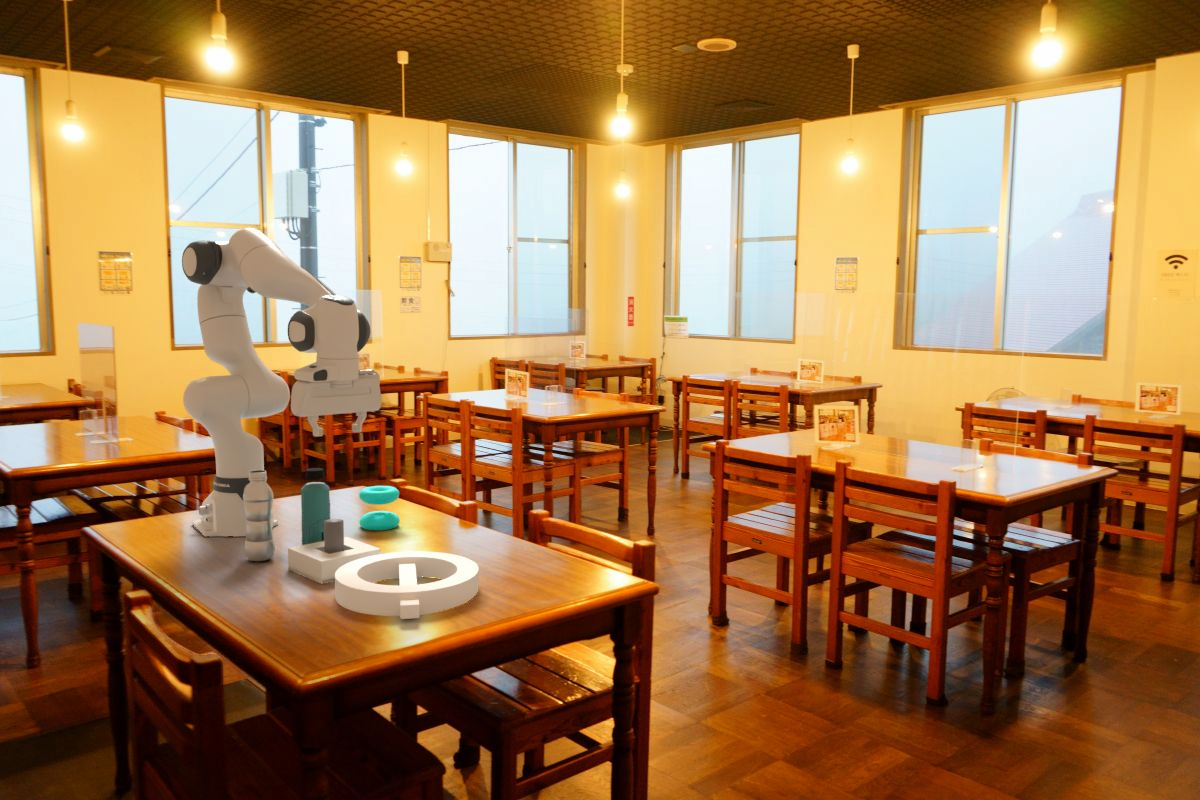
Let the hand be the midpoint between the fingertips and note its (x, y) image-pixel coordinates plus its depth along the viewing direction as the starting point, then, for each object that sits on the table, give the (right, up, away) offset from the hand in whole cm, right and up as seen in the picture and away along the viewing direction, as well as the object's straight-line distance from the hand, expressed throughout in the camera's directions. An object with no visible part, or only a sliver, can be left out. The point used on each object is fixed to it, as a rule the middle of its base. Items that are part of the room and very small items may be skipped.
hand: (337, 434), depth 199 cm
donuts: (+1, -25, +35) cm, 43 cm away
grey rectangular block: (0, -28, -3) cm, 29 cm away
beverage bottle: (-7, -28, +8) cm, 30 cm away
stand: (0, -29, -3) cm, 29 cm away
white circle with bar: (+19, -32, -17) cm, 40 cm away
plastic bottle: (-18, -28, +3) cm, 34 cm away
